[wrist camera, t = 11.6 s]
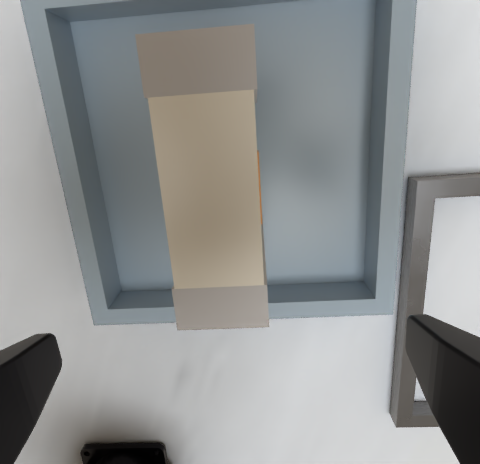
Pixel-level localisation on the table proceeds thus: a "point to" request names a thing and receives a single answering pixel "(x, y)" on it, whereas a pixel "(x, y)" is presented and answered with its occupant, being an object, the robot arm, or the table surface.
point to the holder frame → (419, 284)
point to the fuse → (208, 172)
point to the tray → (268, 143)
